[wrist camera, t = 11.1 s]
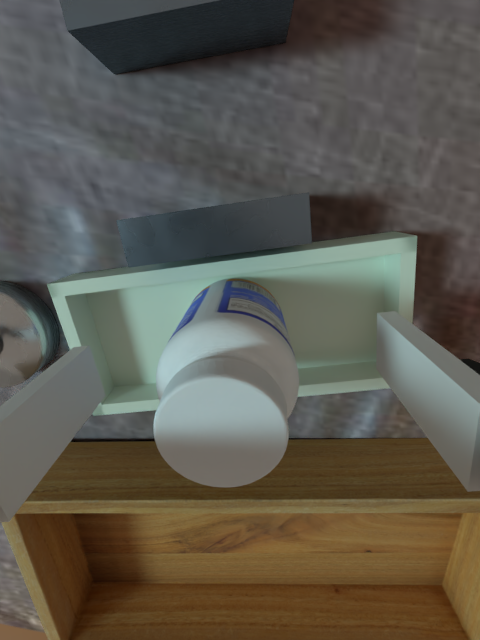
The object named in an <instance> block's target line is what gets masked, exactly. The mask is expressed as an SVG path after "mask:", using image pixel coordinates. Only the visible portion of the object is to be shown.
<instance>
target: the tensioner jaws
mask: <svg viewBox="0 0 480 640" xmlns="http://www.w3.org/2000/svg"><path fill="white" fill-rule="evenodd" d="M293 3H294V0H60V4H61V8H62V11H63V15H64V19H65V23H66V27H67V31H68V32H69V33H70V34H72V35H73V36H74V37H75V38H76V39H77V40H78V41H79V42H80V43H81V44H82V45H83V46H84V47H86V48H87V49H88V50H89V51H90V52H91V53H92V54H93V55H94V56H95V57H96V58H97V59H98V60H100V61H101V62H102V63H103V64H104V65H105V66H106V67H107V68H108V69H109V70H110V71H111V72H112V73H114V74H119V73H125V72H130V71H135V70H141V69H146V68H151V67H157V66H162V65H168V64H173V63H178V62H184V61H189V60H194V59H200V58H205V57H211V56H216V55H221V54H227V53H232V52H237V51H243V50H248V49H254V48H259V47H264V46H270V45H275V44H280V43H285V42H286V37H287V32H288V27H289V23H290V18H291V13H292V8H293ZM117 224H118V228H119V232H120V236H121V240H122V244H123V247H124V251H125V255H126V259H127V263H128V267H129V268H130V267H137V266H145V265H152V264H160V263H167V262H175V261H182V260H190V259H197V258H205V257H213V256H220V255H228V254H235V253H243V252H250V251H258V250H265V249H273V248H280V247H288V246H295V245H303V244H311V243H312V236H311V218H310V200H309V192H308V193H301V194H295V195H288V196H281V197H274V198H267V199H260V200H254V201H247V202H240V203H233V204H226V205H219V206H212V207H206V208H199V209H192V210H185V211H178V212H171V213H164V214H158V215H151V216H144V217H137V218H130V219H123V220H117Z"/></svg>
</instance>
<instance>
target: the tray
mask: <svg viewBox="0 0 480 640" xmlns="http://www.w3.org/2000/svg"><path fill="white" fill-rule="evenodd" d="M1 523H2V525H3V528H4V530H5V533H6V535H7V538H8V540H9V543H10V545H11V548H12V550H13V553H14V556H15V558H16V561H17V563H18V566H19V568H20V571H21V573H22V576H23V578H24V581H25V583H26V586H27V588H28V591H29V593H30V596H31V598H32V601H33V603H34V606H35V608H36V611H37V613H38V616H39V618H40V621H41V623H42V626H43V628H44V631H45V633H46V635H47V638H48V640H480V491H470V492H468V491H467V490H466V489H465V487H464V486H463V485H462V483H461V482H460V481H459V479H458V478H457V477H456V475H455V474H454V473H453V471H452V470H451V469H450V467H449V466H448V465H447V463H446V462H445V460H444V459H443V458H442V456H441V455H440V454H439V452H438V451H437V450H436V448H435V447H434V446H433V444H432V443H431V442H430V440H429V439H428V438H380V439H295V440H288V443H287V448H286V451H285V453H284V455H283V458H282V459H281V460H280V462H279V463H278V465H277V466H276V467H275V468H274V469H273V470H272V471H271V472H270V473H268V474H267V475H266V476H264V477H262V478H261V479H259V480H257V481H255V482H252V483H250V484H247V485H243V486H238V487H227V488H224V487H212V486H207V485H203V484H199V483H197V482H194V481H192V480H189V479H187V478H185V477H184V476H182V475H181V474H179V473H178V472H176V471H175V470H174V469H173V468H172V467H171V466H170V465H169V464H168V463H167V462H166V461H165V460H164V458H163V457H162V456H161V454H160V452H159V450H158V448H157V445H156V442H155V441H131V442H70V443H69V444H68V445H67V447H66V448H65V449H64V451H63V452H62V453H61V455H60V456H59V457H58V459H57V460H56V461H55V462H54V464H53V465H52V466H51V468H50V469H49V470H48V472H47V473H46V474H45V476H44V477H43V478H42V479H41V481H40V482H39V483H38V485H37V486H36V487H35V489H34V490H33V491H32V493H31V494H30V495H29V496H28V498H27V499H26V500H25V502H24V503H23V504H22V506H21V507H20V508H19V510H18V511H17V512H16V513H15V515H14V516H13V517H12V519H11V520H10V521H9V522H1Z"/></svg>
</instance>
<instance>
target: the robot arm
mask: <svg viewBox="0 0 480 640" xmlns="http://www.w3.org/2000/svg"><path fill="white" fill-rule="evenodd" d="M376 369H377V370H378V372H379V373H380V374H381V376H382V377H383V379H384V380H385V381H386V383H387V384H388V385H389V387H390V388H391V389H392V391H393V392H394V393H395V395H396V396H397V397H398V399H399V400H400V401H401V403H402V404H403V405H404V407H405V408H406V409H407V411H408V412H409V413H410V415H411V416H412V417H413V419H414V420H415V422H416V423H417V424H418V426H419V427H420V428H421V430H422V431H423V432H424V434H425V435H426V436H427V438H428V439H429V440H430V442H431V443H432V444H433V446H434V447H435V448H436V450H437V451H438V452H439V454H440V455H441V456H442V458H443V459H444V460H445V462H446V463H447V465H448V466H449V467H450V469H451V470H452V471H453V473H454V474H455V475H456V477H457V478H458V479H459V481H460V482H461V483H462V485H463V486H464V487H465V489H466V490H467V491H468V492H470V491H480V363H478V362H475V361H473V360H470V359H461V360H459V359H458V358H457V357H455V356H454V355H453V354H451V353H450V352H449V351H447V350H446V349H445V348H443V347H442V346H441V345H439V344H438V343H437V342H436V341H434V340H433V339H432V338H430V337H429V336H428V335H426V334H425V333H424V332H422V331H421V330H420V329H418V328H417V327H416V326H414V325H413V324H412V323H410V322H409V321H408V320H407V319H405V318H404V317H403V316H401V315H400V314H399V313H397V312H396V311H390V312H381V313H377V354H376ZM105 396H106V395H105V392H104V389H103V386H102V383H101V380H100V377H99V373H98V370H97V367H96V364H95V361H94V358H93V355H92V352H91V349H90V346H89V345H88V346H80V347H73V348H72V349H71V350H70V351H68V352H67V353H66V354H65V355H63V356H62V357H61V358H60V359H58V360H57V361H56V362H55V363H53V364H52V365H51V366H50V367H48V368H47V369H46V370H45V371H44V372H42V373H41V374H40V375H39V376H37V377H36V378H35V379H34V380H32V381H31V382H30V383H29V384H27V385H26V386H25V387H24V388H22V389H21V390H20V391H19V392H17V393H16V394H15V395H14V396H12V397H11V398H10V399H9V400H7V401H6V402H5V403H4V404H3V405H1V406H0V522H9V521H10V520H11V519H12V517H13V516H14V515H15V513H16V512H17V511H18V510H19V508H20V507H21V506H22V504H23V503H24V502H25V500H26V499H27V498H28V496H29V495H30V494H31V493H32V491H33V490H34V489H35V487H36V486H37V485H38V483H39V482H40V481H41V479H42V478H43V477H44V476H45V474H46V473H47V472H48V470H49V469H50V468H51V466H52V465H53V464H54V462H55V461H56V460H57V459H58V457H59V456H60V455H61V453H62V452H63V451H64V449H65V448H66V447H67V445H68V444H69V443H70V442H71V440H72V439H73V438H74V436H75V435H76V434H77V432H78V431H79V430H80V428H81V427H82V426H83V425H84V423H85V422H86V421H87V419H88V418H89V417H90V415H91V414H92V413H93V411H94V410H95V409H96V408H97V406H98V405H99V404H100V402H101V401H102V400H103V398H104V397H105Z"/></svg>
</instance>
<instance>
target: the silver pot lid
mask: <svg viewBox="0 0 480 640" xmlns="http://www.w3.org/2000/svg"><path fill="white" fill-rule="evenodd" d="M58 346H59V329H58V325H57V322H56V320H55V317H54V316H53V314H52V312H51V310H50V309H49V308H48V306H47V305H46V304H45V303H44V302H43V301H42V300H41V299H40V298H39V297H38V296H37V295H35V294H34V293H33V292H31V291H30V290H28V289H26V288H24V287H22V286H20V285H17V284H14V283H11V282H6V281H0V388H3V387H11V386H15V385H18V384H20V383H22V382H24V381H25V380H27V379H28V378H29V377H31V376H32V375H33V374H35V373H36V372H37V371H38V370H40V369H41V368H42V367H44V366H45V365H46V364H47V363H49V362H50V361H51V360H52V358H53V357H54V356H55V354H56V352H57V349H58Z"/></svg>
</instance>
